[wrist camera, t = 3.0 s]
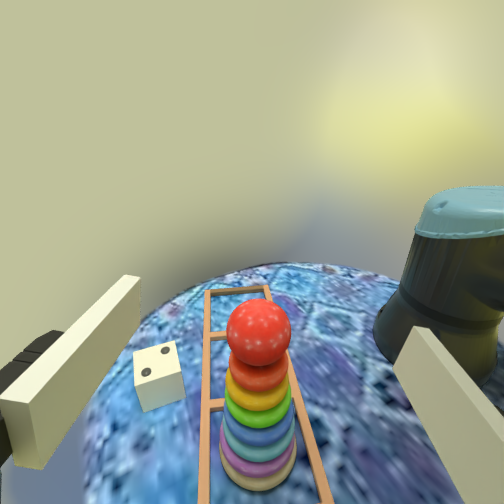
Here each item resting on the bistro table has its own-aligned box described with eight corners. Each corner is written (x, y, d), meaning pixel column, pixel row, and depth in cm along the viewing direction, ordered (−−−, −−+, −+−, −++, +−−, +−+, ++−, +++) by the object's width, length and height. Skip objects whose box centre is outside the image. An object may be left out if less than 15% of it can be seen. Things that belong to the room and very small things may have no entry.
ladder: (267, 288, 54) (267, 284, 53) (336, 519, 24) (337, 515, 24) (205, 293, 52) (204, 289, 52) (197, 544, 23) (196, 540, 23)
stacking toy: (312, 460, 28) (339, 321, 19) (245, 516, 24) (239, 377, 15) (266, 398, 34) (271, 269, 25) (207, 436, 30) (186, 300, 21)
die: (179, 366, 38) (174, 339, 36) (186, 398, 34) (180, 370, 32) (141, 378, 37) (133, 351, 34) (143, 413, 33) (134, 385, 30)
